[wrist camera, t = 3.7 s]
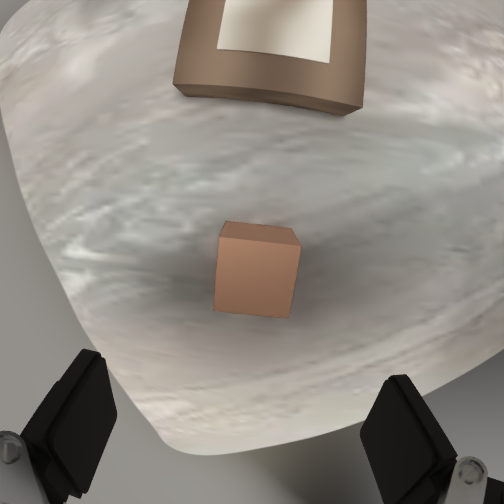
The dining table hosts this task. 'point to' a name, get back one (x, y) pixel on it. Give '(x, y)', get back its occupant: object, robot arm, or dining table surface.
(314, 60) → the walnut frame
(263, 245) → the terracotta cube
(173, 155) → the dining table surface
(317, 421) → the dining table surface
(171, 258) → the dining table surface
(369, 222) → the dining table surface
